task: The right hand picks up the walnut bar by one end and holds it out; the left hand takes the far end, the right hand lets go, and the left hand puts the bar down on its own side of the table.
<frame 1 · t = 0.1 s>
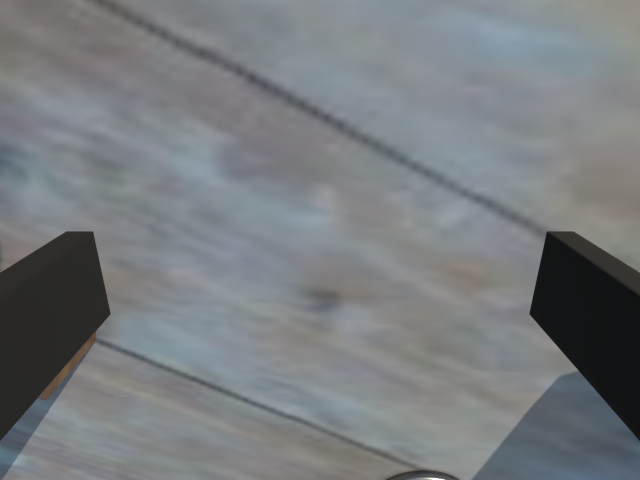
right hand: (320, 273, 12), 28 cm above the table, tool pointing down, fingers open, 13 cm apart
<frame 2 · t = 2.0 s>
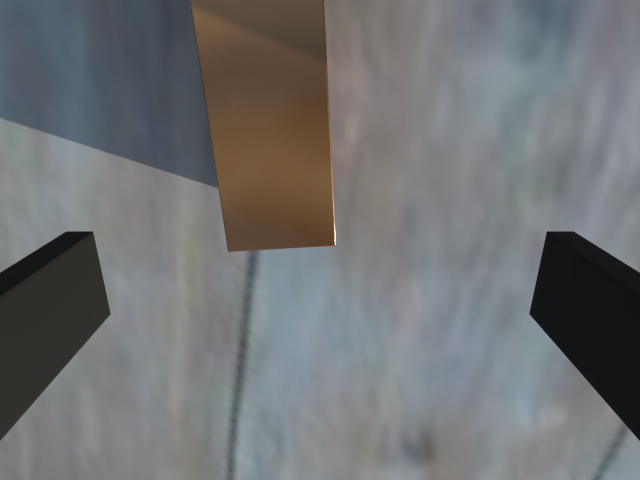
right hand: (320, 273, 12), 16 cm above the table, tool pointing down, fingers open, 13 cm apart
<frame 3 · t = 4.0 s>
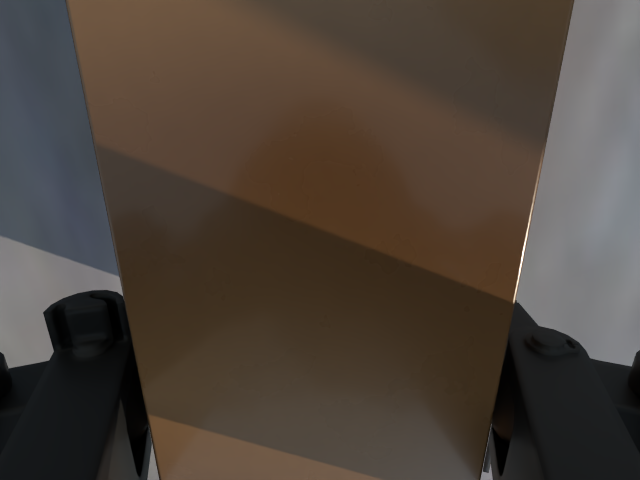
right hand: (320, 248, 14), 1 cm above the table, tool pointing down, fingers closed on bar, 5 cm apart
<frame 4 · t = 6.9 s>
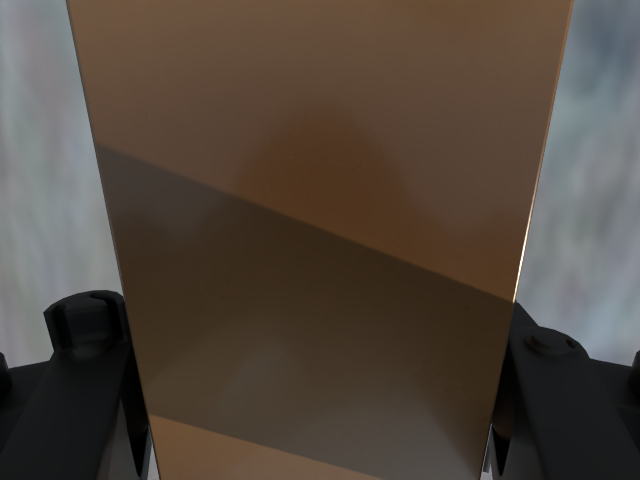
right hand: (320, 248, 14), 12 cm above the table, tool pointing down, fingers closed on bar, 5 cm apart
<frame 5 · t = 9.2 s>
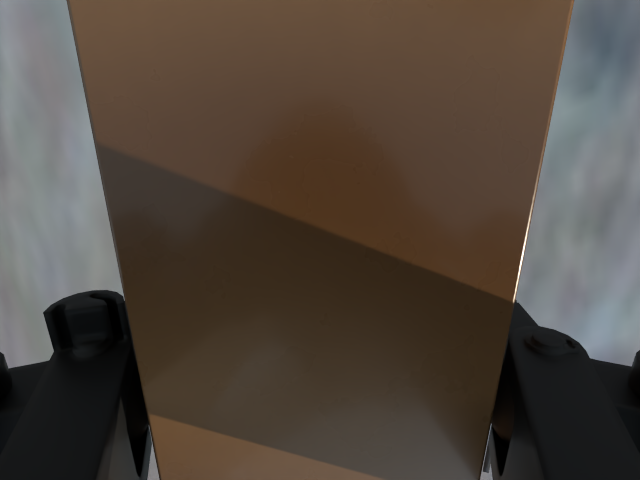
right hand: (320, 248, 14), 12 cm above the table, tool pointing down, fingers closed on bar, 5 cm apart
when the right hand's fingers open (12 cm above the table, at t = 9.8 s): bar stays where it is, held by the left hand.
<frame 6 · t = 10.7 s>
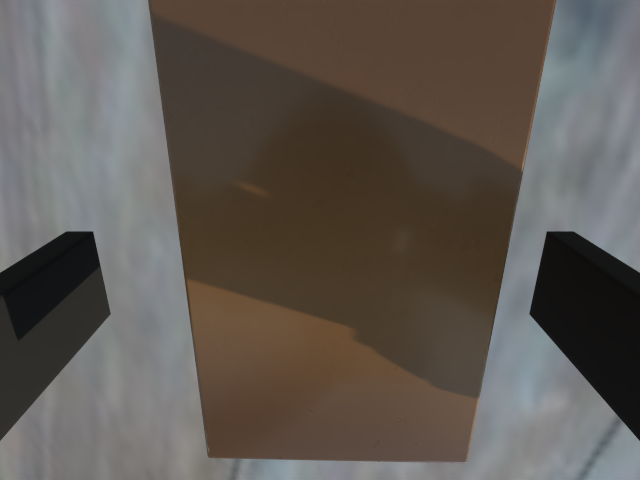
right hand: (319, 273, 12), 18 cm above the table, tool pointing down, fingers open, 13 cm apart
when the left hand's fingers open (3 cm above the table, at t = 14.2 s): bar drops 2 cm, on the table.
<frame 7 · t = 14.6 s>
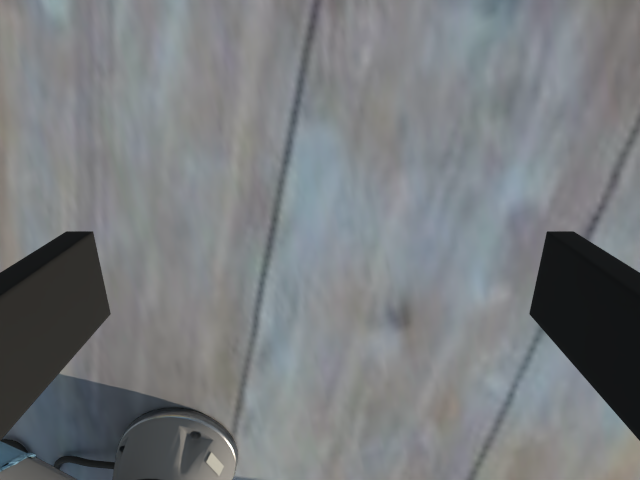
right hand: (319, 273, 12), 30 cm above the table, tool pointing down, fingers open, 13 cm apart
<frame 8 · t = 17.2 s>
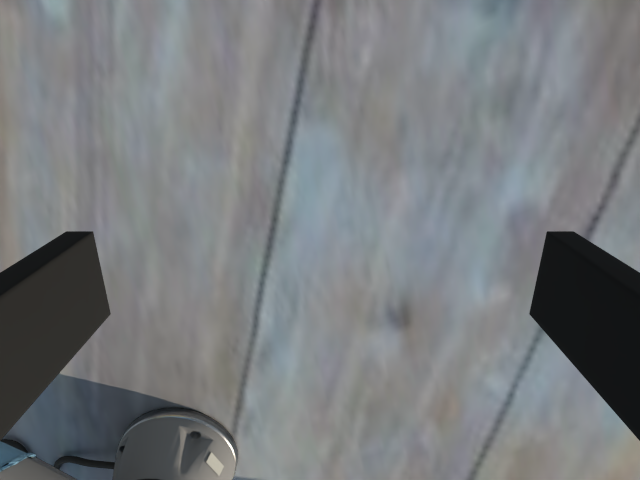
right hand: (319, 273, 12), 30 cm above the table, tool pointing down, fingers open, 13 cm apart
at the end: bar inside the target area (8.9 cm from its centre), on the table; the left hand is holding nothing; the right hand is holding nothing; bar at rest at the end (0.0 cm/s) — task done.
